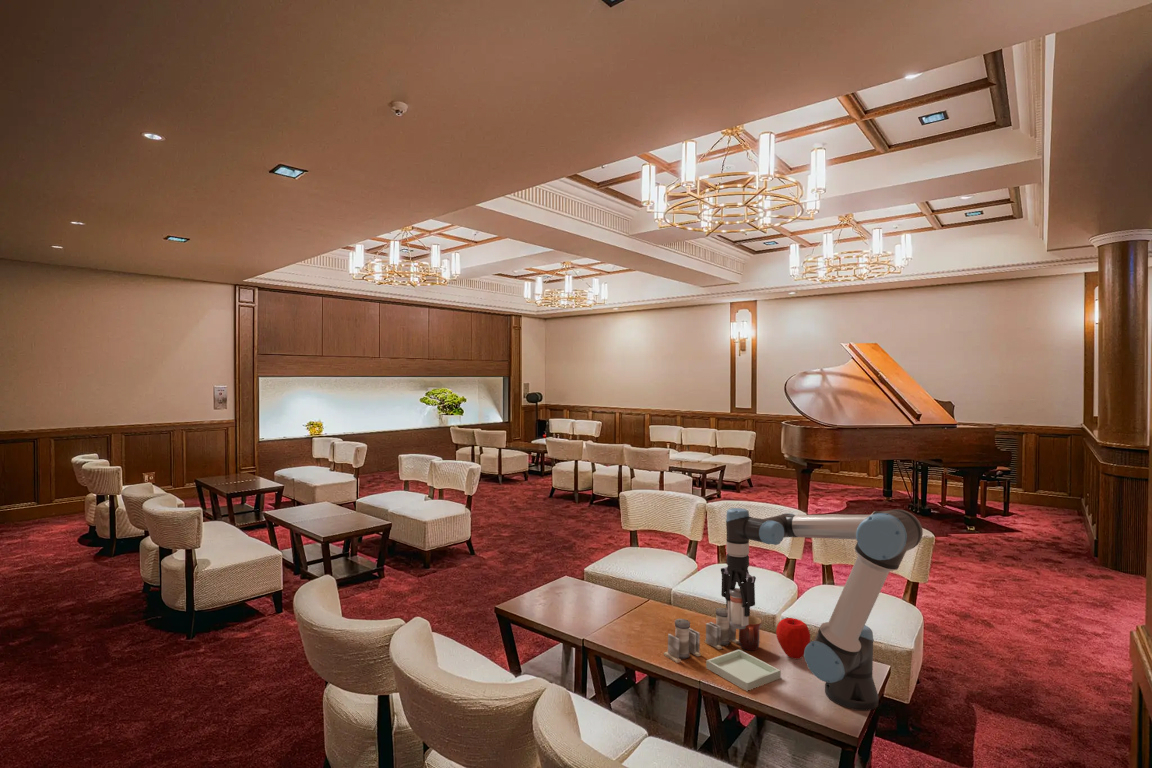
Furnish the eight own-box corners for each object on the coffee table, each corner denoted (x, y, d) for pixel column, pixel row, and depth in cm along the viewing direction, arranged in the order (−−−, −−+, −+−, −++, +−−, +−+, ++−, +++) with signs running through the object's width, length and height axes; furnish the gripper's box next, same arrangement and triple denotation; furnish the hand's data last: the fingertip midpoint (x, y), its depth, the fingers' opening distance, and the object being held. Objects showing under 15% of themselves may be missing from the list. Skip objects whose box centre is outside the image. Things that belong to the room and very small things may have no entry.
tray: (780, 678, 188) (780, 670, 188) (747, 691, 179) (747, 683, 179) (738, 656, 203) (739, 649, 203) (706, 668, 194) (706, 660, 194)
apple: (768, 650, 208) (769, 614, 208) (796, 647, 211) (797, 611, 211) (788, 665, 197) (789, 627, 197) (817, 662, 200) (818, 624, 200)
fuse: (749, 627, 193) (749, 591, 193) (738, 630, 190) (738, 594, 190) (737, 621, 197) (737, 587, 198) (726, 624, 195) (726, 589, 195)
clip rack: (739, 642, 214) (740, 611, 214) (677, 663, 197) (677, 628, 197) (725, 635, 220) (726, 604, 220) (663, 655, 203) (664, 621, 203)
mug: (735, 640, 216) (736, 613, 216) (759, 643, 214) (760, 616, 214) (738, 655, 204) (739, 626, 204) (763, 657, 202) (764, 629, 203)
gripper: (766, 558, 189) (767, 629, 188) (725, 546, 204) (725, 611, 203) (751, 562, 185) (752, 634, 184) (710, 549, 200) (710, 615, 199)
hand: (737, 622), depth 194 cm, fingers closed on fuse, 5 cm apart
